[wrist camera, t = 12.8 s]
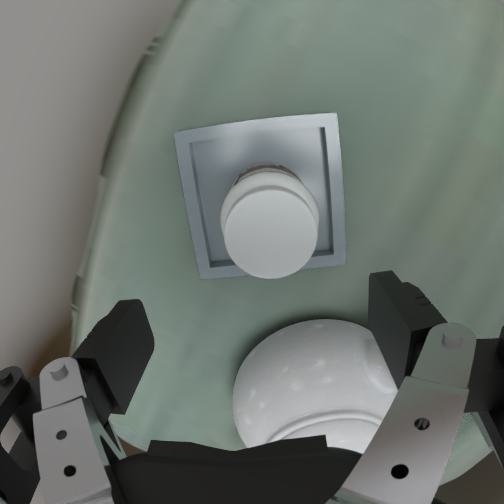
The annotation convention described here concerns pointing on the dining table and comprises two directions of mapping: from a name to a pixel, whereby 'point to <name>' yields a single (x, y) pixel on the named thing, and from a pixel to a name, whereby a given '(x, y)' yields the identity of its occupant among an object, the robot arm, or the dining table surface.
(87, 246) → the dining table surface
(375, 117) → the dining table surface
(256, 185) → the pill bottle
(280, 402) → the teapot
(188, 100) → the dining table surface
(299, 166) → the dish
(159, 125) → the dining table surface
